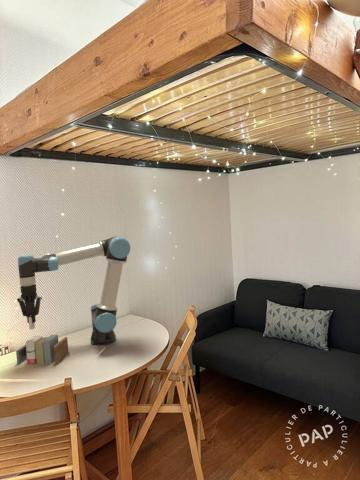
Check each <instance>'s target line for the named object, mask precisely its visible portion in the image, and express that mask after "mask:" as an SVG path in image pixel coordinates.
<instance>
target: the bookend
mask: <svg viewBox="0 0 360 480" xmlns="http://www.w3.org/2000/svg"><path fill="white" fill-rule="evenodd" d="M15 352H16V353H15V354H16V364H17V365H21V364H22V363H24V362H26V361H27V352H26V344H25V345H23V346H22V347H20V348H19V349H17V350H16V351H15Z"/></svg>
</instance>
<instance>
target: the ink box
mask: <svg viewBox="0 0 360 480" xmlns="http://www.w3.org/2000/svg"><path fill="white" fill-rule="evenodd" d="M42 338H44V337H43V336H41V335H35V336H32V337H31V338H29V339H27V340H26V342H25V345H26V352H27V359H26V364H28V365H30V364H32V365H33V364H36V365H37V359H36V349H35V343H36V342H38V341H39V340H41V339H42Z"/></svg>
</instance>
